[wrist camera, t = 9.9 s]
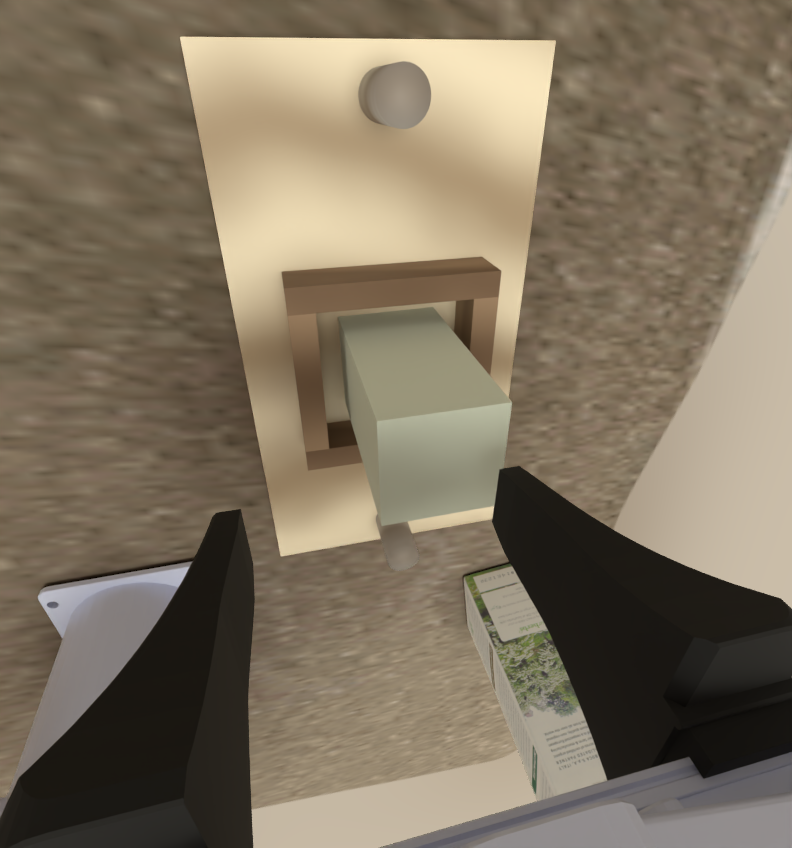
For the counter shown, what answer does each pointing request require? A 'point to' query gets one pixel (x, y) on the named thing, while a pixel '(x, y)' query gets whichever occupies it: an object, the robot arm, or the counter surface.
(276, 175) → the socket plate
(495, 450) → the sage peg
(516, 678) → the syrup box
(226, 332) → the counter surface
